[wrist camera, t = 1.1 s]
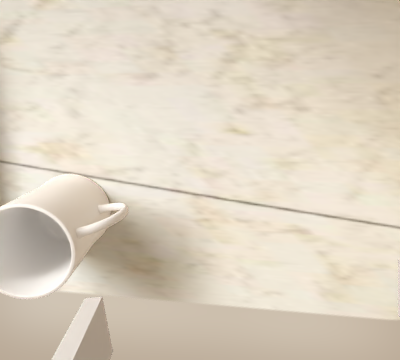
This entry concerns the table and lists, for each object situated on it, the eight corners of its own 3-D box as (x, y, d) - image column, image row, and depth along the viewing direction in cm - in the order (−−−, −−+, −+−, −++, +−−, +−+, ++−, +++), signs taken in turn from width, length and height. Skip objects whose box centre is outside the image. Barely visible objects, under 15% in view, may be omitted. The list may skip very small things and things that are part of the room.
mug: (131, 163, 38) (106, 185, 27) (145, 235, 40) (128, 286, 28) (25, 180, 38) (-46, 210, 27) (44, 252, 40) (-15, 310, 28)
